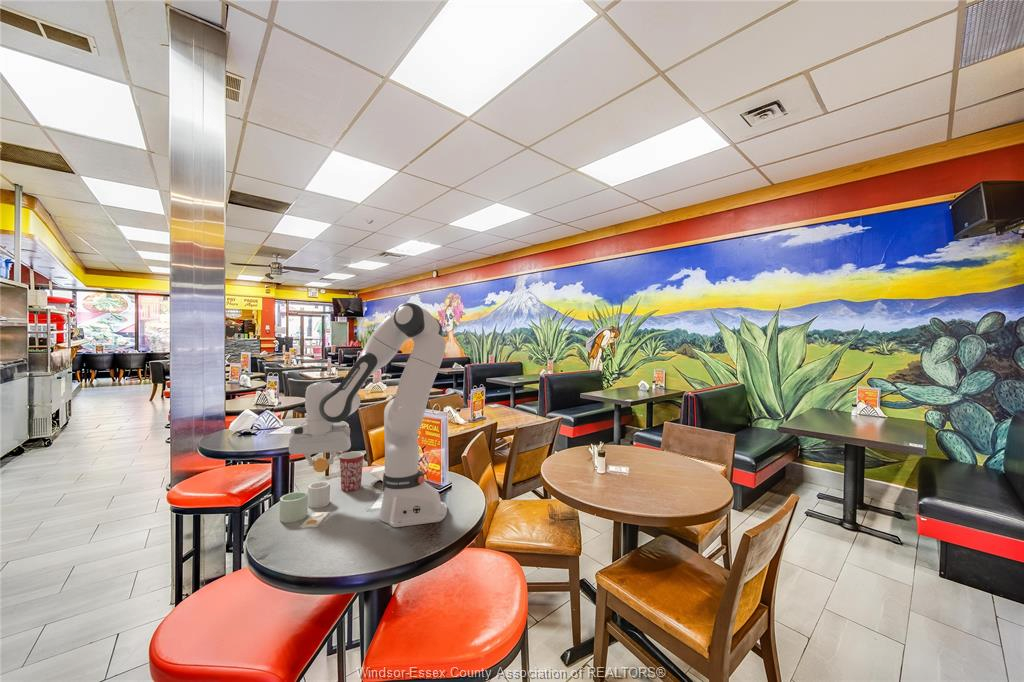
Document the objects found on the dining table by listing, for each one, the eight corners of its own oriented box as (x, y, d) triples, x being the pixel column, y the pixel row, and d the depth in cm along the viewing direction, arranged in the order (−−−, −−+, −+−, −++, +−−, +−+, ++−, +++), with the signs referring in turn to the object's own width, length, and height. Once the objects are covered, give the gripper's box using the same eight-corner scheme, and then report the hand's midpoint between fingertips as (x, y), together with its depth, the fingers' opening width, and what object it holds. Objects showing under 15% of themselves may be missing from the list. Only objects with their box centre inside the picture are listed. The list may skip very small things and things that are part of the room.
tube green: (311, 511, 127) (311, 491, 127) (300, 522, 119) (300, 500, 119) (287, 512, 126) (287, 492, 126) (274, 523, 118) (275, 501, 118)
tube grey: (332, 499, 136) (332, 481, 137) (324, 507, 130) (325, 488, 130) (312, 500, 136) (313, 481, 136) (304, 508, 129) (304, 488, 129)
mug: (356, 493, 143) (357, 458, 143) (334, 492, 143) (334, 457, 144) (371, 481, 155) (371, 449, 156) (350, 480, 156) (350, 448, 156)
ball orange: (331, 469, 135) (330, 455, 135) (325, 473, 130) (325, 459, 130) (316, 470, 135) (316, 456, 135) (311, 474, 130) (310, 460, 130)
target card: (329, 513, 125) (329, 511, 125) (316, 527, 115) (316, 525, 115) (313, 513, 125) (313, 512, 125) (299, 528, 115) (299, 526, 115)
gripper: (352, 422, 137) (353, 459, 137) (294, 426, 135) (295, 464, 135) (347, 426, 131) (348, 465, 131) (285, 430, 128) (287, 469, 128)
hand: (321, 464), depth 133 cm, fingers closed on ball orange, 5 cm apart
